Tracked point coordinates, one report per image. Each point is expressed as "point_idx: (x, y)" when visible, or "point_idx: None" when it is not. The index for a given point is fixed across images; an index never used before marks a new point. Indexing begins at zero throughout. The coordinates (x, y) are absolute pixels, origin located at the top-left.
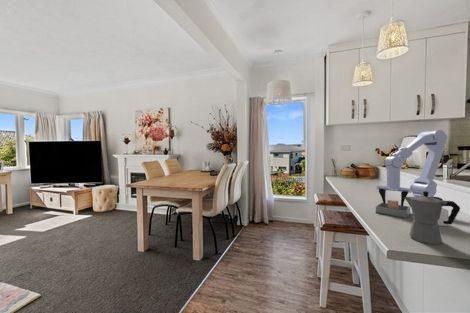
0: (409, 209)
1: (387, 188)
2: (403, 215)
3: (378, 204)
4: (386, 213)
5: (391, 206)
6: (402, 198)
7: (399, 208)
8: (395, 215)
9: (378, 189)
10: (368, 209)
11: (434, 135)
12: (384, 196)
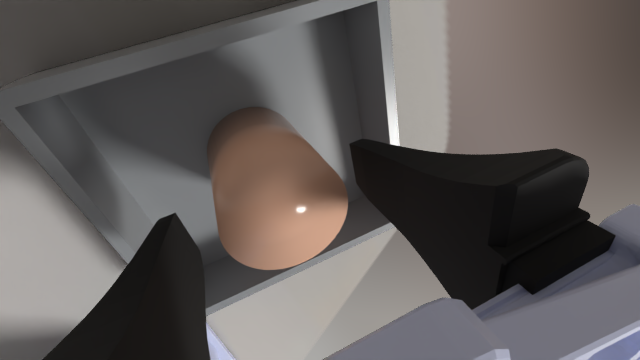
0: None
1: (520, 318)
2: (60, 68)
3: (397, 126)
4: (248, 15)
5: (257, 132)
6: (123, 296)
7: None
8: (154, 40)
9: (606, 219)
10: (429, 71)
11: None
12: (411, 200)
